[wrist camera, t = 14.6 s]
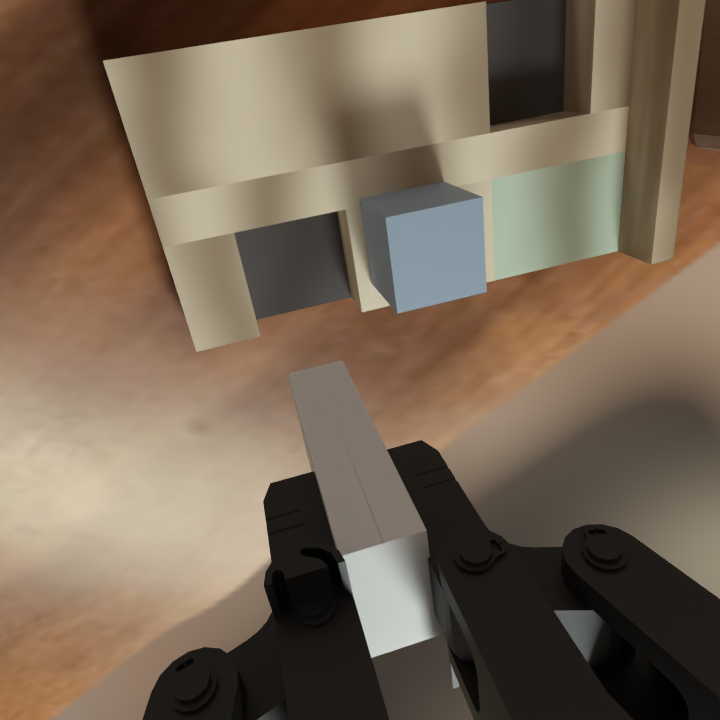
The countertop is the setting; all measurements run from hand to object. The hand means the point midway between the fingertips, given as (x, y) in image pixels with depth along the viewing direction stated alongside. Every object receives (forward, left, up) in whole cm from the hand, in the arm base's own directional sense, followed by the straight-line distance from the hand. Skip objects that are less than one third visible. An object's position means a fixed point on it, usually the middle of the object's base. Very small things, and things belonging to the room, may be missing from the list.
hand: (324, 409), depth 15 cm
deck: (+7, +4, -14) cm, 16 cm away
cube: (+6, +1, -12) cm, 13 cm away
